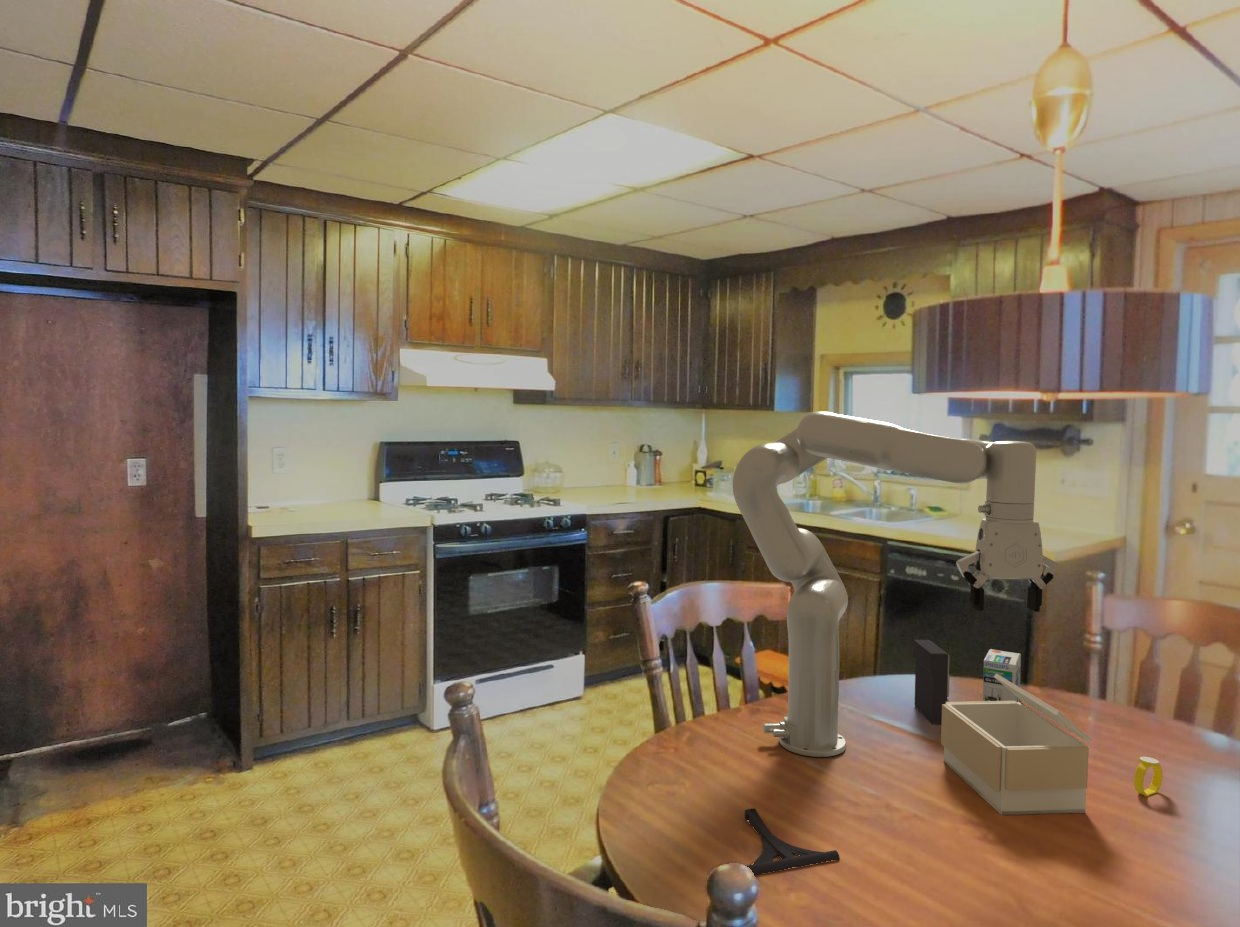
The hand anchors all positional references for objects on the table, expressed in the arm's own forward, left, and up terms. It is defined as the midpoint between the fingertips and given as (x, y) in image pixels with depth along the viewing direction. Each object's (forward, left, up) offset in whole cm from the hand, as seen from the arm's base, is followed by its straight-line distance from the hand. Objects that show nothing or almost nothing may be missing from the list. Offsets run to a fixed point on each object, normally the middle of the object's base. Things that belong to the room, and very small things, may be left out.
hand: (1005, 609), depth 140 cm
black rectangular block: (+1, +30, -30) cm, 43 cm away
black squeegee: (-46, -19, -31) cm, 59 cm away
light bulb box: (+20, +36, -31) cm, 51 cm away
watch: (+22, -7, -30) cm, 38 cm away
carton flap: (+5, -3, -17) cm, 17 cm away
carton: (0, -3, -30) cm, 30 cm away
